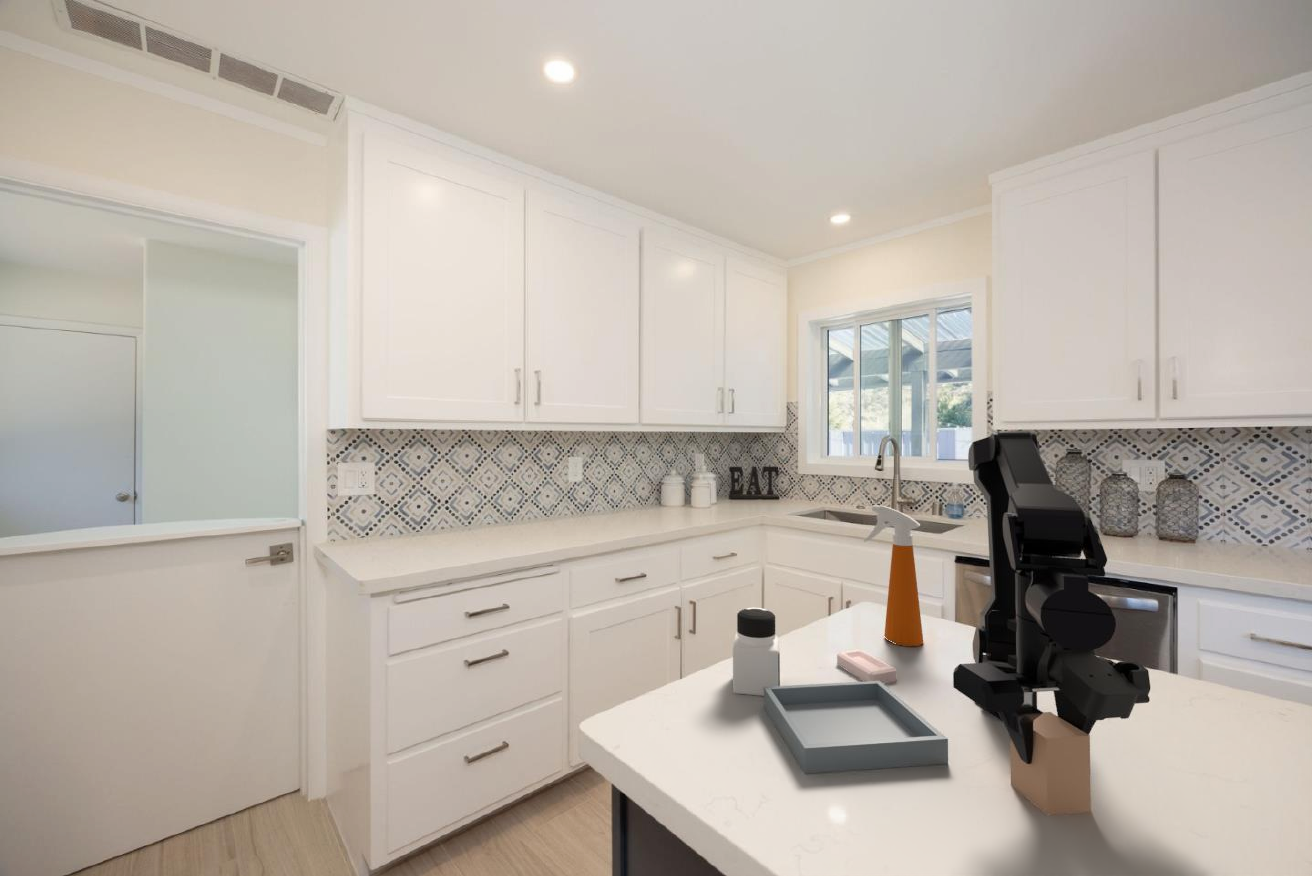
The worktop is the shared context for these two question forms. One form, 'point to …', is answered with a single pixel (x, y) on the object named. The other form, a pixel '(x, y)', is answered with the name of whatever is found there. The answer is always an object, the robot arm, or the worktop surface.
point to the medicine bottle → (755, 652)
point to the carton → (1055, 767)
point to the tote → (852, 727)
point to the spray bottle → (900, 579)
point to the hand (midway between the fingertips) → (1048, 760)
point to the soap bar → (866, 666)
